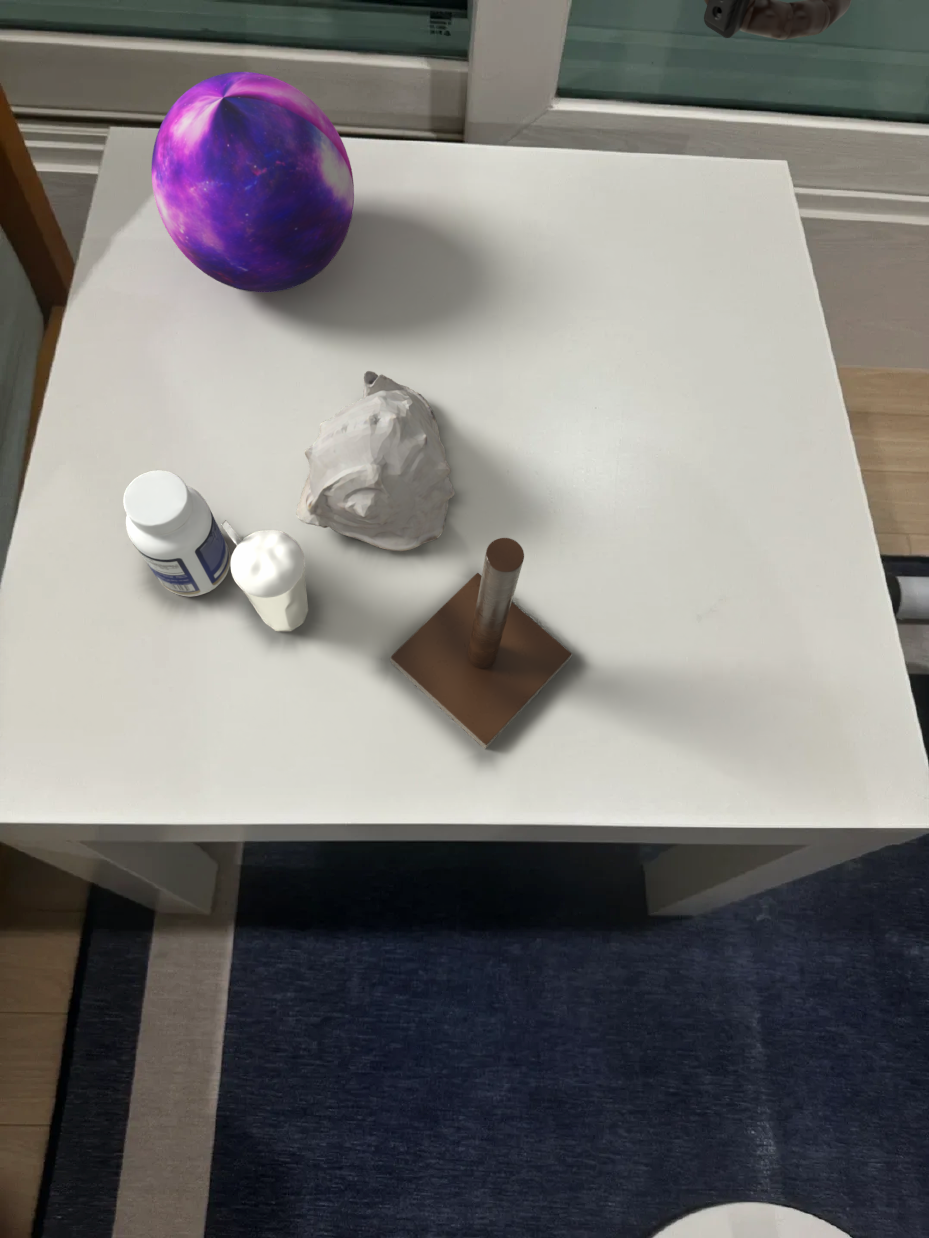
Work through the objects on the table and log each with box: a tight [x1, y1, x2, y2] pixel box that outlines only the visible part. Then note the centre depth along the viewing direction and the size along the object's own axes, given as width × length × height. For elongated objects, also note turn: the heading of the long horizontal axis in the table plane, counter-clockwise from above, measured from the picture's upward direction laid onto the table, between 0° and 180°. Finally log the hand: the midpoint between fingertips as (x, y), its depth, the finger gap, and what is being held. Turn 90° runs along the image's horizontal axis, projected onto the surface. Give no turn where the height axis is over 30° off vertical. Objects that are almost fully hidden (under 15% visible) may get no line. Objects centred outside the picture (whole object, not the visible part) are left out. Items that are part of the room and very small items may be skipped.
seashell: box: [295, 370, 455, 552], centre depth 61 cm, size 12×14×10 cm
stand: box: [389, 537, 573, 750], centre depth 52 cm, size 9×9×17 cm
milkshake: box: [220, 519, 309, 632], centre depth 56 cm, size 4×5×10 cm
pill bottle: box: [122, 469, 231, 597], centre depth 57 cm, size 5×5×10 cm
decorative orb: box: [151, 71, 355, 293], centre depth 65 cm, size 15×15×15 cm
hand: (732, 18), depth 52 cm, fingers closed
